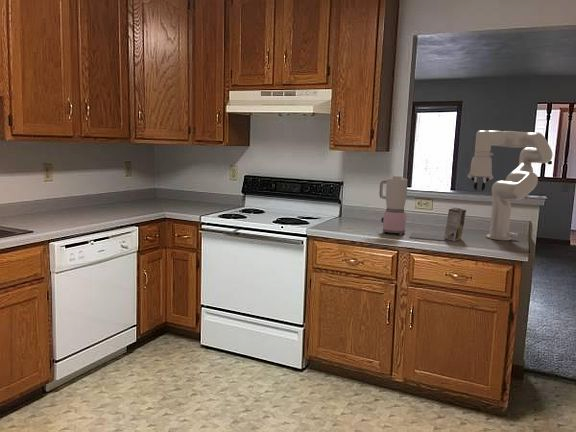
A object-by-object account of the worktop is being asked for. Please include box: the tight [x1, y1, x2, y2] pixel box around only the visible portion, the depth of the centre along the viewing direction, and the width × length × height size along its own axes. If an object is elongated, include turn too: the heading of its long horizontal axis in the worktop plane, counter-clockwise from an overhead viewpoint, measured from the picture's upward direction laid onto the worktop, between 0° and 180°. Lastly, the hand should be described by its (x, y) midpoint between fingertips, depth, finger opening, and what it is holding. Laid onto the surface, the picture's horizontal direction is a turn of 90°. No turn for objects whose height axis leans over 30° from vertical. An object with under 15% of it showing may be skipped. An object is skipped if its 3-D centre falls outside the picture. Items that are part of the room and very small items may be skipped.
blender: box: [379, 175, 409, 236], centre depth 273 cm, size 16×12×32 cm
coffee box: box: [444, 207, 467, 242], centre depth 261 cm, size 9×6×16 cm
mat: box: [409, 231, 446, 242], centre depth 267 cm, size 18×15×1 cm
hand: (479, 190), depth 255 cm, fingers open, 2 cm apart
